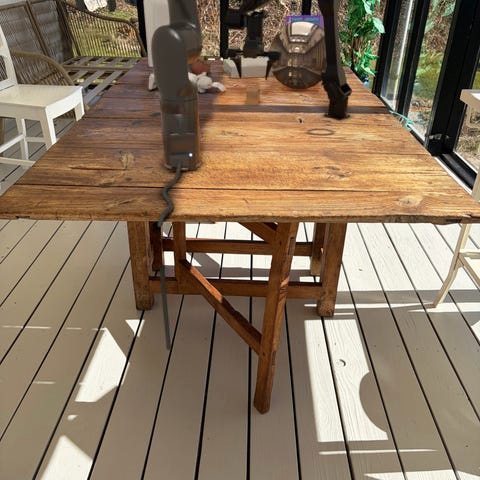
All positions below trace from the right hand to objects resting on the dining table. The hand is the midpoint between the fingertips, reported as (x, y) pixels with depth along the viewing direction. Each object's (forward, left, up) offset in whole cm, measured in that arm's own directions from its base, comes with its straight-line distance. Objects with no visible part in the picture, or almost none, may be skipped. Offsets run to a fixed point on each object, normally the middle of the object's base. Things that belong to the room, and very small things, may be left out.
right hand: (253, 79), depth 169 cm
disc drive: (-34, -35, -8) cm, 49 cm away
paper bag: (-20, -74, -8) cm, 77 cm away
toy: (+8, -28, -8) cm, 30 cm away
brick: (0, 0, -8) cm, 8 cm away
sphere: (-28, -2, -8) cm, 29 cm away
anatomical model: (-15, -47, -8) cm, 50 cm away
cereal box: (-51, -19, -8) cm, 55 cm away
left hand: (+56, -4, +25) cm, 61 cm away
